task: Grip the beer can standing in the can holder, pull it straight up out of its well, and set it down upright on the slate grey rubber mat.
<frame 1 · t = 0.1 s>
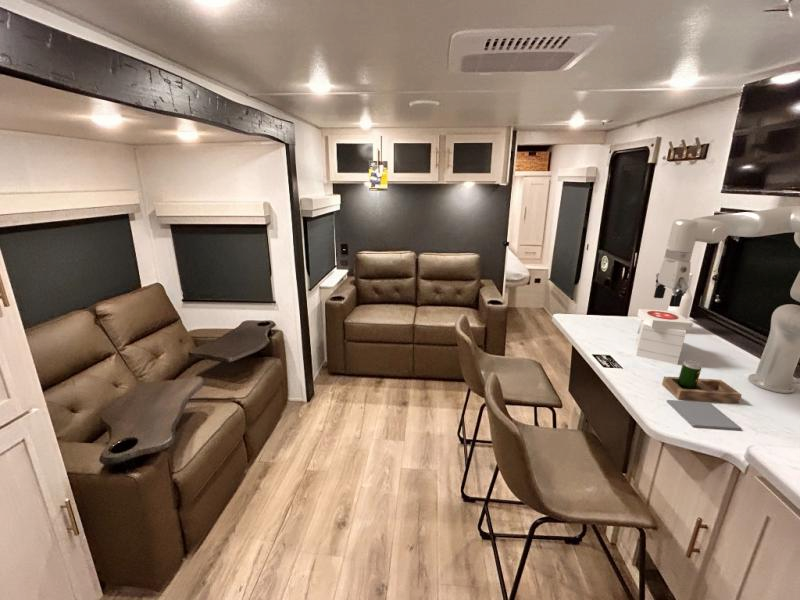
hand: (665, 302, 137), 31 cm above the countertop, fingers open, 9 cm apart
beer can: (684, 393, 136), resting in can holder
can holder: (698, 393, 136), on the countertop
alcohol: (673, 330, 195), on the countertop
rubber mat: (701, 415, 123), on the countertop
pizza boxes: (654, 349, 172), on the countertop
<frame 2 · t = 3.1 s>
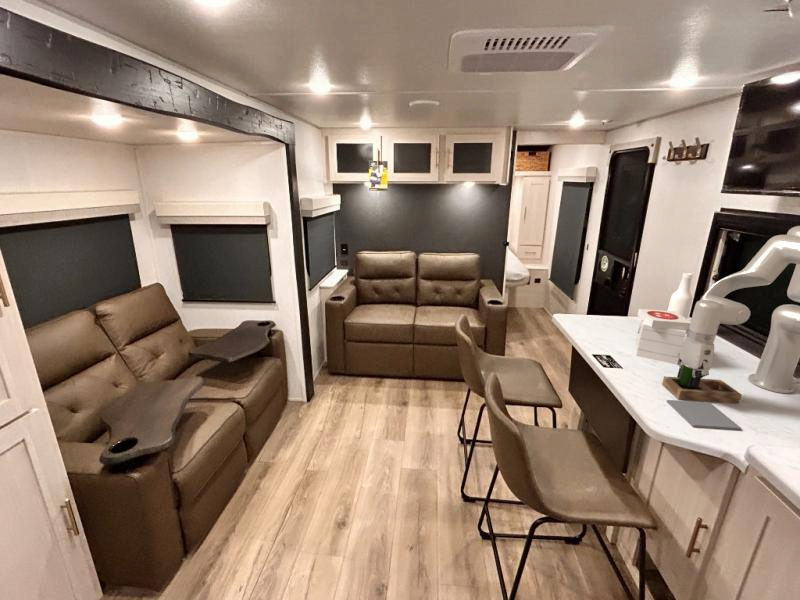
hand: (687, 381, 135), 4 cm above the countertop, fingers closed on beer can, 5 cm apart
beer can: (684, 393, 136), resting in can holder, touching gripper
everything else where it was.
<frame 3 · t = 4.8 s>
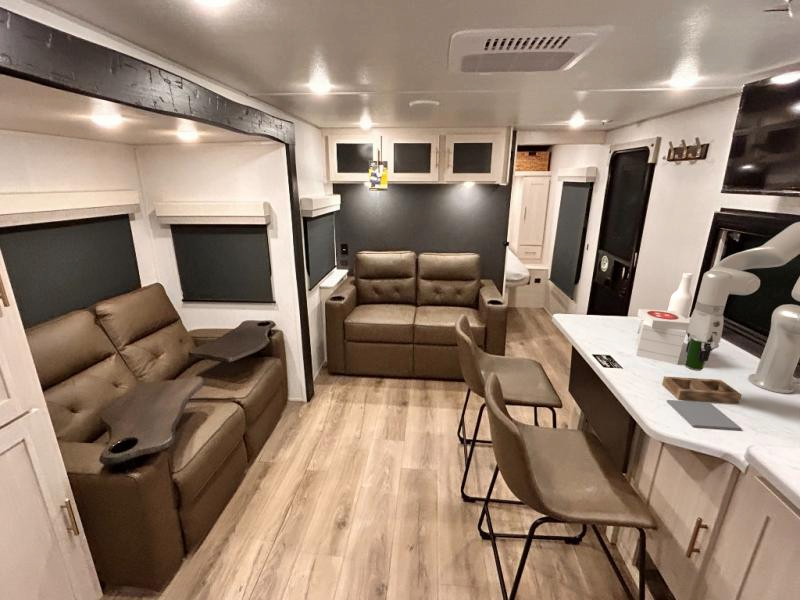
hand: (696, 356, 132), 15 cm above the countertop, fingers closed on beer can, 5 cm apart
beer can: (693, 368, 133), point 10 cm above the countertop, touching gripper
everything else where it was.
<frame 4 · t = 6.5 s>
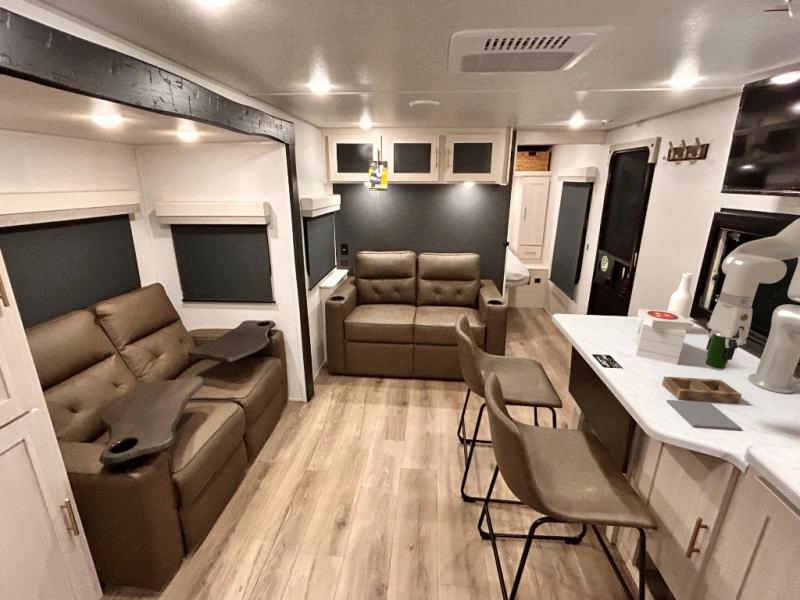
hand: (718, 354, 118), 22 cm above the countertop, fingers closed on beer can, 5 cm apart
beer can: (714, 367, 119), point 17 cm above the countertop, touching gripper
everything else where it was.
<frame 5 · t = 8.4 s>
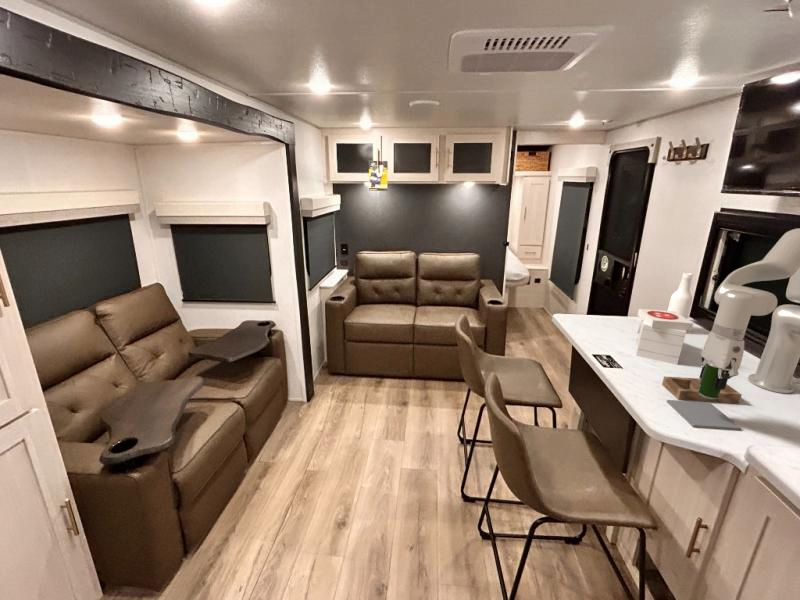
hand: (711, 383, 120), 12 cm above the countertop, fingers closed on beer can, 5 cm apart
beer can: (707, 395, 121), point 7 cm above the countertop, touching gripper
everything else where it was.
when the fingers open (6 cm above the countertop, at t = 9.9 s): beer can stays where it is, resting on rubber mat.
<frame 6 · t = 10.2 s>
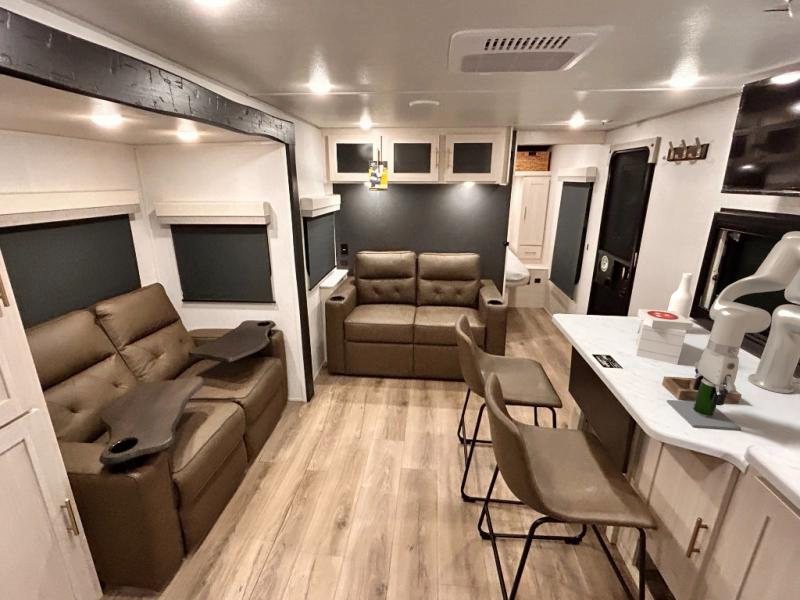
hand: (707, 396, 121), 7 cm above the countertop, fingers open, 8 cm apart
beer can: (702, 413, 123), point 1 cm above the countertop, touching rubber mat
everything else where it was.
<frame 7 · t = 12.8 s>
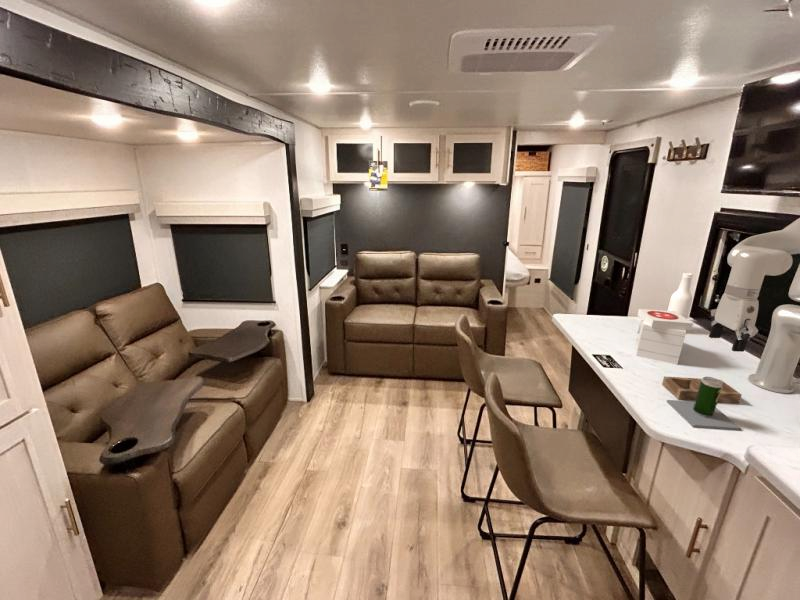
hand: (725, 344, 118), 25 cm above the countertop, fingers open, 9 cm apart
nothing on the countertop moved.
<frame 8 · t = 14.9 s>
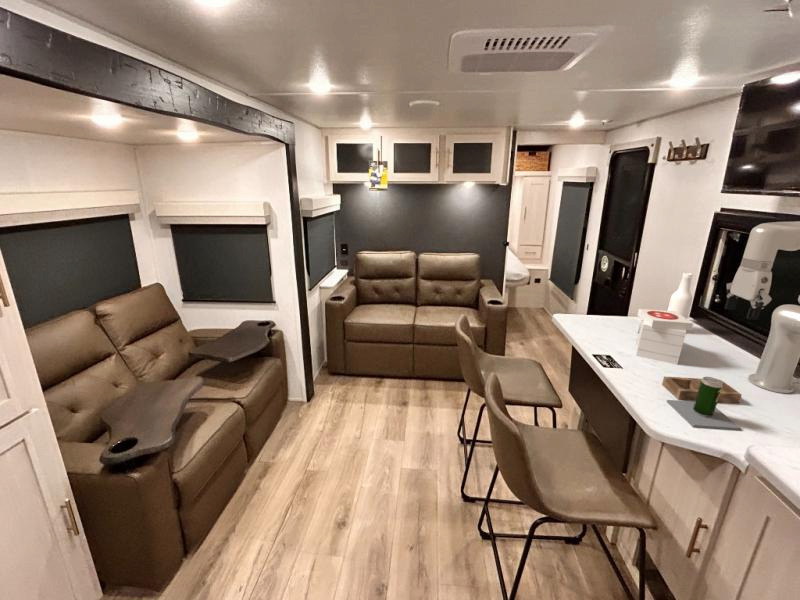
hand: (740, 314, 128), 30 cm above the countertop, fingers open, 9 cm apart
nothing on the countertop moved.
at the end: beer can inside the target area on the rubber mat (0.1 cm from its centre), point 0.6 cm above the rubber mat's base; beer can tilted 0°; the gripper is holding nothing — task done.
